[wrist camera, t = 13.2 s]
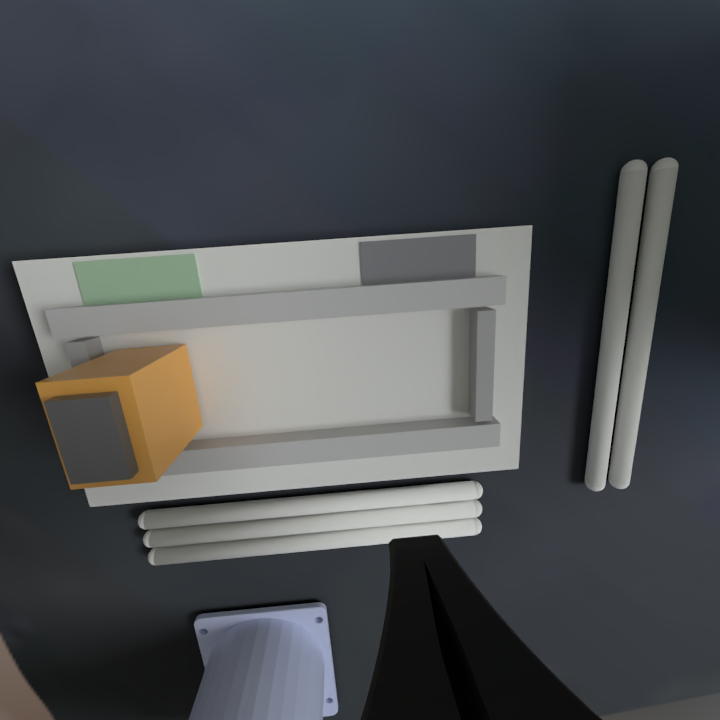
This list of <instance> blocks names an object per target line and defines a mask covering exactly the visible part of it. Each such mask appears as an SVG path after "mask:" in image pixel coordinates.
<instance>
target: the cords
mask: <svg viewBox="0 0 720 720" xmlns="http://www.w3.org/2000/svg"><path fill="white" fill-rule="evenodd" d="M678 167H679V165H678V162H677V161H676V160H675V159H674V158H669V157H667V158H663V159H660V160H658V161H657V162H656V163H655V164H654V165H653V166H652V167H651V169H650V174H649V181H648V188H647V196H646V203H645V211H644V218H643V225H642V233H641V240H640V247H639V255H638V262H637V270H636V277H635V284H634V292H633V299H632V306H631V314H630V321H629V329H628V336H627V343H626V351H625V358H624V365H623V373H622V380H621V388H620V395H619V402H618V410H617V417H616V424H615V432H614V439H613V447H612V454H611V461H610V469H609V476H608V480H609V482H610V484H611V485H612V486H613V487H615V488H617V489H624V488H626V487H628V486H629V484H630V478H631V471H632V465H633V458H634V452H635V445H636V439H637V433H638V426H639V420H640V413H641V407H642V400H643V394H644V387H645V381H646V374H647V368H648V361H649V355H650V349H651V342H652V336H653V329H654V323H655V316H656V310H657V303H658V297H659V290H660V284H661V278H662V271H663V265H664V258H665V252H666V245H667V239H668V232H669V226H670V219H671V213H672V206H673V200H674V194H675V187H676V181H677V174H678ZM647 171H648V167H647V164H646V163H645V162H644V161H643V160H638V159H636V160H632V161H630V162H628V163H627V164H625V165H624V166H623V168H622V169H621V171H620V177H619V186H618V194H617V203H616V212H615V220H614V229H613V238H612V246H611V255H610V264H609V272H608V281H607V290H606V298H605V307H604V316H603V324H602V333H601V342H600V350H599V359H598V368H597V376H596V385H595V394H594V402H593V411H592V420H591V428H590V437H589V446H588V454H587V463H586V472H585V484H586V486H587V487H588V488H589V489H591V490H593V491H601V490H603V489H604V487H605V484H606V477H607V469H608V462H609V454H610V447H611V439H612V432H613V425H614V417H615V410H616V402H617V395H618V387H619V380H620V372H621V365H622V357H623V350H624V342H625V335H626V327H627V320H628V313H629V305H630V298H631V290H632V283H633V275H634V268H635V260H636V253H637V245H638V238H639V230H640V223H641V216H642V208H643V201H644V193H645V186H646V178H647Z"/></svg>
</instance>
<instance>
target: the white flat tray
mask: <svg viewBox="0 0 720 720" xmlns="http://www.w3.org/2000/svg"><path fill="white" fill-rule="evenodd" d="M531 243H532V225H528V226H513V227H499V228H484V229H470V230H456V231H441V232H427V233H413V234H398V235H384V236H370V237H355V238H341V239H327V240H312V241H298V242H284V243H269V244H255V245H241V246H226V247H212V248H198V249H183V250H169V251H155V252H140V253H126V254H112V255H97V256H83V257H69V258H54V259H40V260H26V261H12V264H13V267H14V270H15V273H16V276H17V279H18V283H19V286H20V289H21V292H22V295H23V298H24V301H25V305H26V308H27V311H28V314H29V317H30V320H31V323H32V326H33V330H34V333H35V336H36V339H37V342H38V345H39V348H40V351H41V355H42V358H43V361H44V364H45V367H46V370H47V373H48V377H51V376H53V375H56V374H58V373H61V372H63V371H66V370H68V369H71V368H73V367H76V366H78V365H80V364H83V363H85V362H88V361H90V360H93V359H95V358H98V357H100V356H103V355H105V354H108V353H110V352H112V351H115V350H117V349H129V348H142V347H155V346H167V345H180V344H186V345H187V350H188V355H189V360H190V365H191V370H192V375H193V379H194V384H195V389H196V394H197V399H198V404H199V409H200V414H201V418H202V423H203V426H202V428H201V429H200V430H199V431H198V433H197V434H196V435H195V436H194V437H193V439H192V440H191V441H190V442H189V443H188V445H187V446H186V447H185V448H184V449H183V451H182V452H181V453H180V454H179V456H178V457H177V458H176V459H175V460H174V462H173V463H172V464H171V465H170V466H169V468H168V469H167V470H166V471H165V473H164V474H163V475H162V476H161V477H160V479H159V480H158V481H157V482H152V483H140V484H129V485H118V486H106V487H95V488H84V489H85V492H86V495H87V499H88V502H89V505H90V507H96V506H107V505H118V504H129V503H140V502H152V501H163V500H174V499H185V498H196V497H207V496H218V495H230V494H241V493H252V492H263V491H274V490H285V489H297V488H308V487H319V486H330V485H341V484H352V483H363V482H375V481H386V480H397V479H408V478H419V477H430V476H441V475H453V474H464V473H475V472H486V471H497V470H508V469H518V468H519V451H520V433H521V416H522V399H523V381H524V364H525V347H526V329H527V312H528V295H529V277H530V260H531Z"/></svg>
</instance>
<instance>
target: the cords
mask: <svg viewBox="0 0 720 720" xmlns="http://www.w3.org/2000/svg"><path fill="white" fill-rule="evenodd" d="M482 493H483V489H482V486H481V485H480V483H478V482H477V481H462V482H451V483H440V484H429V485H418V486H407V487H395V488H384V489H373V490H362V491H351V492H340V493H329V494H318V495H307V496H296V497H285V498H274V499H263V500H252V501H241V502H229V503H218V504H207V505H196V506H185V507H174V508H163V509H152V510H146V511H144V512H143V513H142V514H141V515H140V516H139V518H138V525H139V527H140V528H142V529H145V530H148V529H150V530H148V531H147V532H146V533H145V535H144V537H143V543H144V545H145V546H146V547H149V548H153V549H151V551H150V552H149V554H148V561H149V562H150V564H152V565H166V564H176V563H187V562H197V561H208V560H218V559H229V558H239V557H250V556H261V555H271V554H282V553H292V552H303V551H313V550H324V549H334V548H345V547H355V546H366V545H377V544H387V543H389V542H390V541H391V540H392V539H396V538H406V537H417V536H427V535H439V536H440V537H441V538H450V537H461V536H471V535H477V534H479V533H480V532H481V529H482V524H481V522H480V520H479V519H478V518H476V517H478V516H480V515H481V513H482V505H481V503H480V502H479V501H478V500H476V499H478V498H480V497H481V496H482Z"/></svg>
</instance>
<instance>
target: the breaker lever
mask: <svg viewBox="0 0 720 720" xmlns="http://www.w3.org/2000/svg"><path fill="white" fill-rule="evenodd" d="M35 384H36V387H37V390H38V393H39V396H40V399H41V402H42V405H43V408H44V411H45V414H46V417H47V420H48V423H49V426H50V429H51V432H52V435H53V438H54V441H55V444H56V447H57V450H58V453H59V456H60V459H61V462H62V465H63V468H64V471H65V474H66V477H67V480H68V483H69V486H70V489H71V490H72V489H84V488H95V487H106V486H118V485H129V484H140V483H152V482H157V481H158V480H159V479H160V477H161V476H162V475H163V474H164V473H165V471H166V470H167V469H168V468H169V466H170V465H171V464H172V463H173V462H174V460H175V459H176V458H177V457H178V456H179V454H180V453H181V452H182V451H183V449H184V448H185V447H186V446H187V445H188V443H189V442H190V441H191V440H192V439H193V437H194V436H195V435H196V434H197V433H198V431H199V430H200V429H201V428H202V426H203V423H202V418H201V414H200V409H199V404H198V399H197V394H196V389H195V384H194V379H193V375H192V370H191V365H190V360H189V355H188V350H187V345H186V344H180V345H167V346H155V347H142V348H129V349H117V350H115V351H112V352H110V353H108V354H105V355H103V356H100V357H98V358H95V359H93V360H90V361H88V362H85V363H83V364H80V365H78V366H76V367H73V368H71V369H68V370H66V371H63V372H61V373H58V374H56V375H53V376H51V377H49V378H46V379H44V380H41V381H39V382H36V383H35Z"/></svg>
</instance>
